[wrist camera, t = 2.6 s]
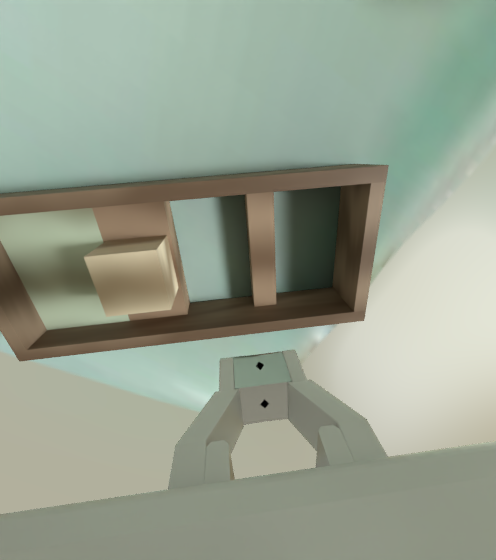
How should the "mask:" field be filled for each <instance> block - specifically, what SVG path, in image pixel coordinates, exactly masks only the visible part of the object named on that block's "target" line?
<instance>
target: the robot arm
mask: <svg viewBox="0 0 496 560" xmlns="http://www.w3.org/2000/svg"><path fill="white" fill-rule="evenodd" d="M282 419H289V421H290V422H291V423H292V424H293V425H294V427H295V428H296V429H297V430H298V431H299V432H300V433H301V434H302V435H303V437H304V438H305V439H306V440H307V441H308V442H309V443H310V444H311V445H312V446H313V448H315V450H316V451H317V457H316V468H311V469H305V470H298V471H291V472H284V473H277V474H270V475H263V476H257V477H250V478H243V479H236V480H235V479H234V473H233V466H232V460H231V453H232V451H233V448H234V446H235V444H236V442H237V440H238V437H239V435H240V433H241V431H242V429H243V427H244V426H243V425H246V424H252V423H258V422H264V421H272V420H282ZM0 560H496V441H492V442H486V443H479V444H472V445H465V446H458V447H452V448H445V449H438V450H432V451H425V452H418V453H411V454H405V455H398V456H391V457H388V456H387V454H386V452H385V451H384V449H383V447H382V445H381V444H380V442H379V440H378V439H377V437H376V435H375V433H374V432H373V430H372V428H371V426H370V424H369V423H368V421H367V419H365V418H364V417H363V416H361V415H360V414H358V413H357V412H355V411H354V410H353V409H351V408H350V407H349V406H347V405H346V404H344V403H343V402H342V401H340V400H339V399H337V398H336V397H335V396H333V395H332V394H330V393H329V392H328V391H326V390H325V389H323V388H322V387H321V386H319V385H318V384H316V383H315V382H314V381H312V380H307V379H306V376H305V374H304V371H303V369H302V366H301V364H300V361H299V359H298V356H297V354H296V351H295V350H287V351H282V352H274V353H266V354H259V355H249V356H239V357H231V358H221V359H220V377H219V391H218V392H215V393H214V394H213V396H212V397H211V398H210V400H209V401H208V403H207V404H206V405H205V407H204V408H203V409H202V411H201V412H200V413H199V415H198V416H197V417H196V419H195V420H194V421H193V423H192V424H191V425H190V427H189V428H188V429H187V431H186V432H185V433H184V435H183V436H182V437H181V439H180V440H179V441H178V443H177V444H176V446H175V451H174V457H173V463H172V469H171V474H170V480H169V486H168V490H163V491H155V492H149V493H141V494H135V495H128V496H121V497H115V498H108V499H101V500H95V501H87V502H81V503H74V504H68V505H60V506H54V507H47V508H40V509H34V510H27V511H20V512H14V513H6V514H0Z"/></svg>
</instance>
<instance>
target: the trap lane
mask: <svg viewBox="0 0 496 560" xmlns="http://www.w3.org/2000/svg"><path fill="white" fill-rule="evenodd" d="M387 172H388V165H369V164H349V165H337V166H325V167H313V168H301V169H289V170H277V171H265V172H254V173H242V174H230V175H218V176H206V177H194V178H182V179H170V180H158V181H146V182H134V183H122V184H110V185H98V186H86V187H74V188H62V189H50V190H38V191H26V192H14V193H2V194H0V331H1V332H2V334H3V336H4V337H5V339H6V340H7V342H8V344H9V345H10V347H11V349H12V350H13V352H14V353H15V355H16V357H17V358H18V360H19V361H27V360H35V359H43V358H52V357H60V356H69V355H77V354H86V353H94V352H103V351H111V350H119V349H128V348H136V347H145V346H153V345H162V344H170V343H179V342H187V341H196V340H204V339H212V338H221V337H229V336H238V335H246V334H255V333H263V332H272V331H280V330H288V329H297V328H305V327H314V326H322V325H331V324H339V323H347V322H356V321H364V318H365V311H366V305H367V299H368V292H369V286H370V280H371V273H372V267H373V261H374V254H375V248H376V242H377V235H378V229H379V223H380V216H381V210H382V204H383V197H384V191H385V185H386V178H387ZM334 186H341V192H340V203H339V215H338V227H337V239H336V251H335V262H334V274H333V286H332V287H329V288H320V289H311V290H302V291H293V292H284V293H276V269H275V231H274V193H273V192H277V191H288V190H300V189H311V188H322V187H334ZM243 194H244V195H245V208H246V222H247V235H248V248H249V262H250V275H251V289H252V296H248V297H238V298H229V299H220V300H211V301H202V302H193V303H190V301H189V296H188V291H187V286H186V281H185V276H184V271H183V266H182V261H181V256H180V251H179V246H178V241H177V236H176V232H175V227H174V222H173V217H172V212H171V207H170V202H169V201H175V200H186V199H198V198H209V197H220V196H232V195H243ZM161 235H167V237H168V241H169V246H170V250H171V255H172V260H173V264H174V269H175V273H176V278H177V283H178V290H177V293H176V296H175V299H174V302H173V305H172V308H171V310H164V311H155V312H146V313H137V314H128V315H119V316H110V317H106V314H105V312H104V309H103V307H102V304H101V301H100V299H99V296H98V294H97V291H96V288H95V286H94V283H93V280H92V278H91V275H90V273H89V270H88V267H87V265H86V262H85V260H84V256H86V255H87V254H88V253H90V252H91V251H93V250H94V249H95V248H97V247H98V246H100V245H101V244H103V243H104V242H105V241H109V240H119V239H130V238H140V237H151V236H161Z"/></svg>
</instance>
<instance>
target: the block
mask: <svg viewBox="0 0 496 560" xmlns="http://www.w3.org/2000/svg"><path fill="white" fill-rule="evenodd" d="M84 260H85V262H86V265H87V267H88V270H89V273H90V275H91V278H92V280H93V283H94V286H95V288H96V291H97V294H98V296H99V299H100V301H101V304H102V307H103V309H104V312H105V314H106V317H110V316H119V315H128V314H137V313H146V312H155V311H164V310H171V308H172V305H173V302H174V299H175V296H176V293H177V290H178V283H177V278H176V273H175V269H174V264H173V260H172V255H171V250H170V246H169V241H168V237H167V235H161V236H151V237H140V238H130V239H119V240H109V241H105V242H104V243H103V244H101V245H100V246H98V247H97V248H95V249H94V250H93V251H91V252H90V253H88V254H87V255H86V256H84Z"/></svg>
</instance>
